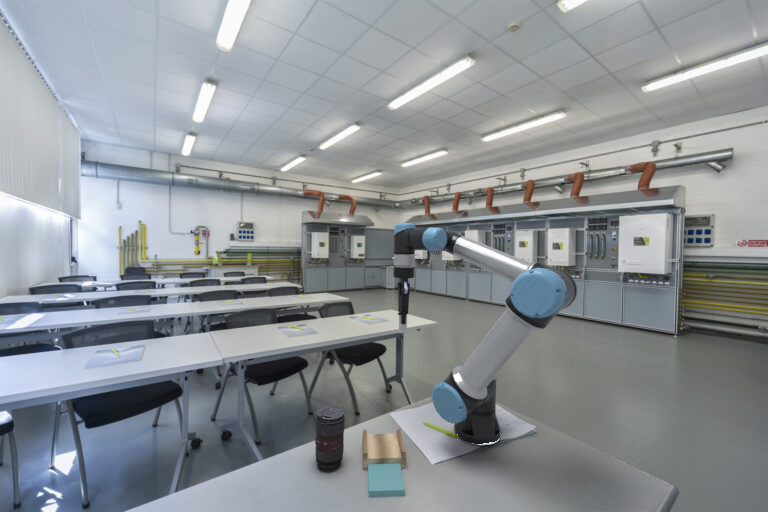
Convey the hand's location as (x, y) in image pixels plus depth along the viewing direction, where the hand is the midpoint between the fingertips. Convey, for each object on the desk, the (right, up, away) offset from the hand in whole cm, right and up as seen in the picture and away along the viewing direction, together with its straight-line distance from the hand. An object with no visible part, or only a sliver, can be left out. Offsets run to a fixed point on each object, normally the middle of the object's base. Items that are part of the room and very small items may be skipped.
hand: (402, 332), depth 113 cm
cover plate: (-6, -33, -30) cm, 45 cm away
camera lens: (-22, -32, -23) cm, 45 cm away
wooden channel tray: (-7, -32, -19) cm, 38 cm away
